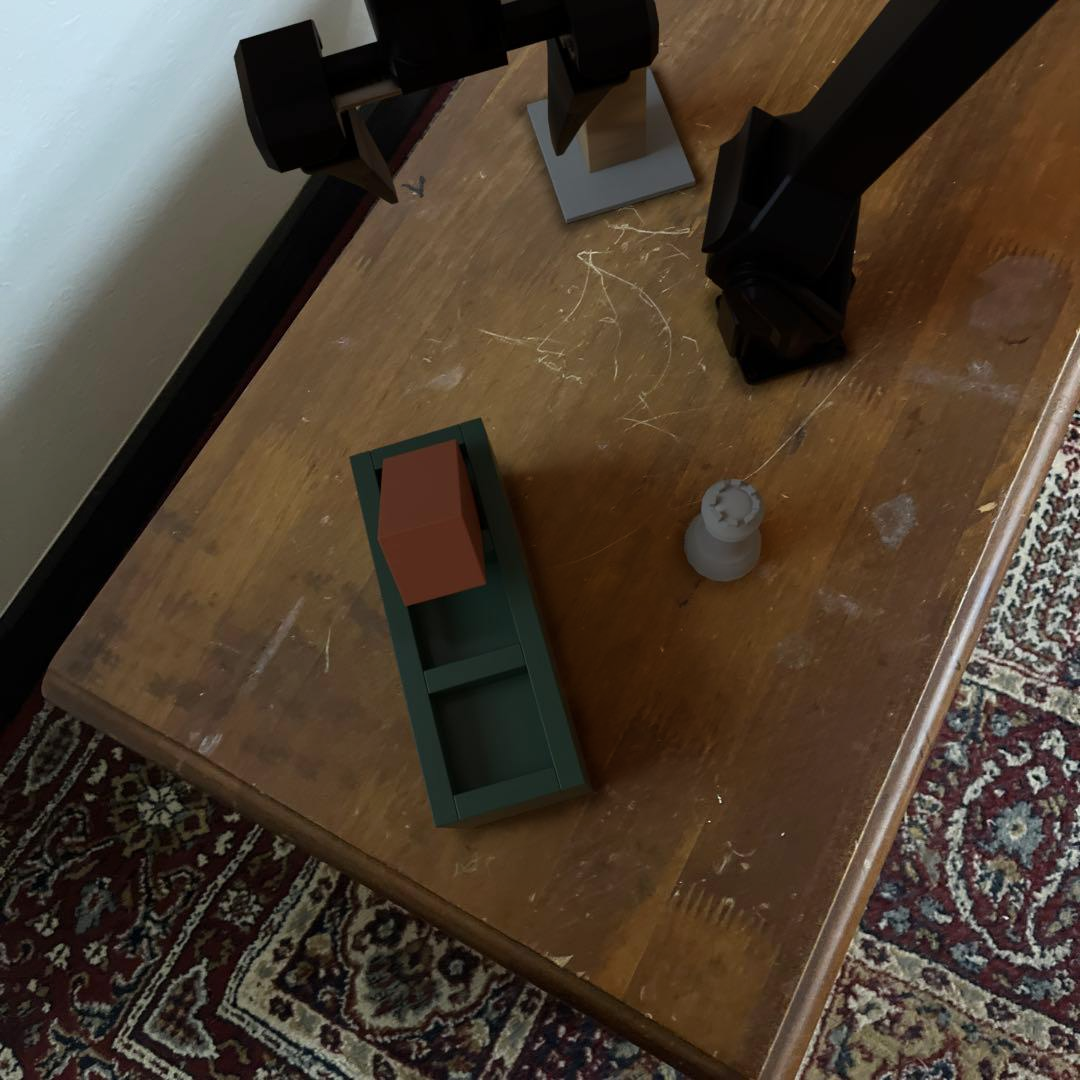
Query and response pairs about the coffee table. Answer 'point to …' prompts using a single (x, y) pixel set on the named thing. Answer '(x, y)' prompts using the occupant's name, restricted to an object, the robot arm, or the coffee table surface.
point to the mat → (623, 181)
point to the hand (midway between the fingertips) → (475, 172)
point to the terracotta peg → (430, 523)
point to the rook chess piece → (726, 531)
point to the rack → (478, 661)
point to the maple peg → (616, 125)
